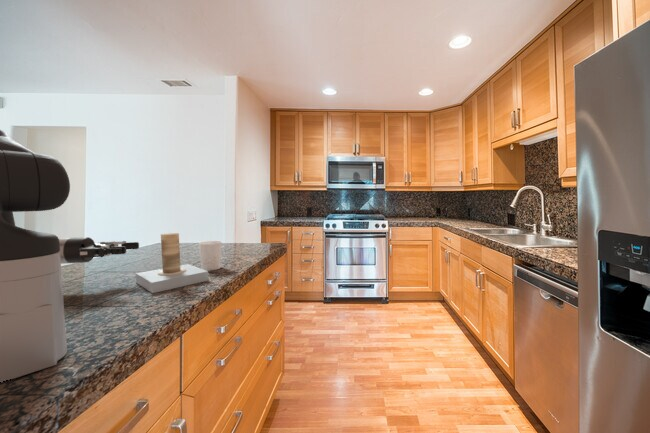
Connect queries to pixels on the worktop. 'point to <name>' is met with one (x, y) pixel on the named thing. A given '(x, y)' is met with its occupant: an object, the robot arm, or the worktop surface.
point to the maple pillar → (170, 252)
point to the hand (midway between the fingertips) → (132, 247)
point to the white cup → (210, 255)
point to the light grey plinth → (171, 278)
